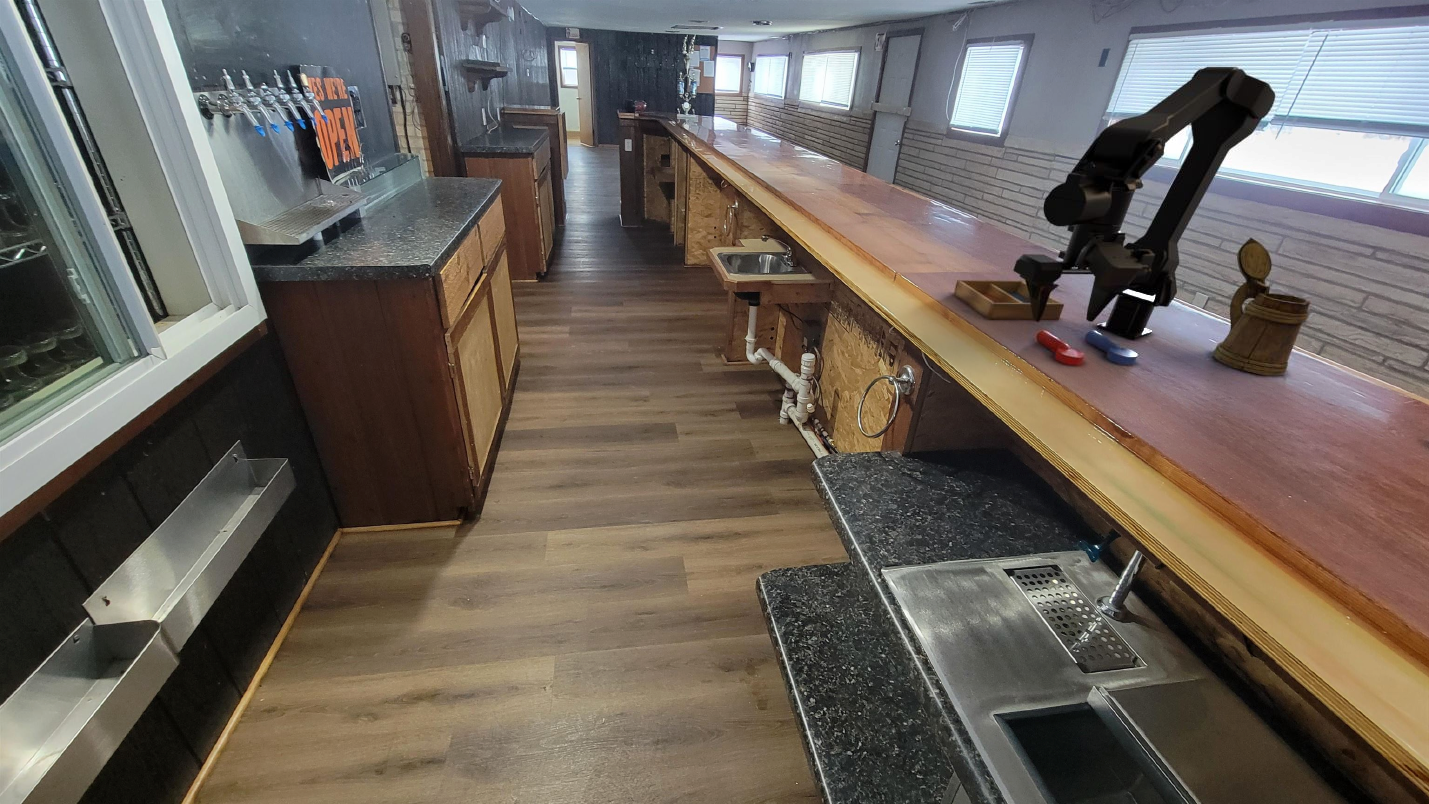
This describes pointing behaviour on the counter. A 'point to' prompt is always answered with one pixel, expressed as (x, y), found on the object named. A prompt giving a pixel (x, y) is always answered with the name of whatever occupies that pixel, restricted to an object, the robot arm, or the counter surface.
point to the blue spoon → (1111, 348)
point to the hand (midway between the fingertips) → (1062, 321)
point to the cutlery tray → (1003, 299)
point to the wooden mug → (1260, 319)
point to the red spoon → (1060, 349)
